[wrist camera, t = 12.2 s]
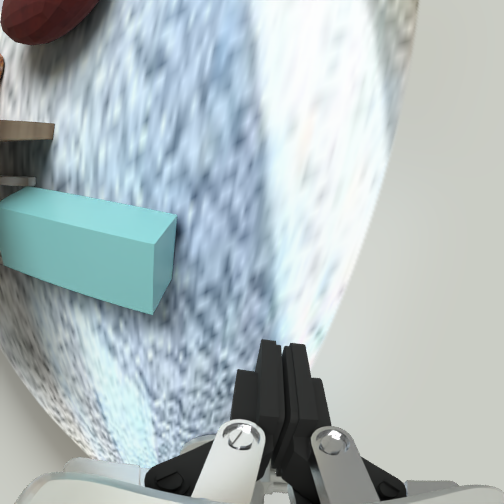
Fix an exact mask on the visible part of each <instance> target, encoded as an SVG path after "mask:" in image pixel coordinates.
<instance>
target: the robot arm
mask: <svg viewBox="0 0 504 504" xmlns="http://www.w3.org/2000/svg"><path fill="white" fill-rule="evenodd" d="M275 472H276V473H275ZM272 492H282V493H288V494H289V499H290V503H291V504H504V492H503V491H502V490H500V489H498V488H496V487H492V486H486V485H464V486H459V485H458V484H457V483H455V482H453V481H411V480H407V481H406V482H405V483H402V482H401V481H400V480H399V479H398V478H396V477H394V476H392V475H391V474H389V473H387V472H386V471H384V470H382V469H380V468H379V467H377V466H375V465H374V464H372V463H371V462H369V461H367V460H366V459H364V458H362V457H361V456H360V454H359V452H358V449H357V447H356V445H355V443H354V440H353V439H352V437H351V435H350V434H349V433H347V432H346V431H345V430H343V429H341V428H338V427H334V426H331V421H330V417H329V412H328V407H327V402H326V397H325V392H324V388H323V383H322V380H321V379H320V378H311V374H310V368H309V363H308V357H307V352H306V347H305V345H304V344H296V343H290V345H289V346H285V347H284V350H283V354H282V353H281V345H276V341H271V340H264V339H262V340H261V344H260V349H259V354H258V359H257V364H256V369H255V372H254V371H246V370H239V369H238V370H237V375H236V382H235V388H234V395H233V401H232V409H231V416H230V421H228V422H225V423H224V424H223V425H221V427H220V428H219V430H218V432H217V434H216V435H206V436H200V437H197V438H194V439H192V440H190V441H188V442H187V443H186V444H185V445H184V446H183V447H182V449H181V452H180V455H179V456H177V457H175V458H172V459H170V460H168V461H165V462H163V463H160V464H158V465H156V466H154V467H152V468H150V469H149V468H140V466H139V465H133V464H124V463H116V462H108V461H102V460H96V459H90V458H82V457H77V458H73V459H71V460H69V461H68V462H67V463H66V464H65V466H64V469H63V472H52V473H46V474H43V475H40V476H39V477H37V478H35V479H34V480H33V481H32V482H31V483H30V484H29V485H28V486H27V487H26V488H25V489H24V490H23V492H22V493H21V495H20V496H19V497H18V499H17V500H16V502H15V503H14V504H264V495H265V494H272Z"/></svg>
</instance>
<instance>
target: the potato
mask: <svg viewBox="0 0 504 504" xmlns="http://www.w3.org/2000/svg"><path fill="white" fill-rule="evenodd" d="M98 1H99V0H4V1H3V6H2V13H1V21H0V23H1V26H2V29H3V31H4V32H5V33H6V34H7V35H8V36H9V37H10V38H11V39H12V40H14V41H15V42H18V43H22V44H27V45H38V44H45V43H49V42H52V41H54V40H56V39H58V38H60V37H62V36H64V35H65V34H66V33H68V32H69V31H71V30H72V29H73V28H75V27H76V26H77V25H78V24H79V23H80V22H81V21H82V20H83V19H84V18H85V17H86V16H87V15H88V14H89V13H90V12H91V11H92V9H93V8H94V7H95V5H96V4H97V3H98Z"/></svg>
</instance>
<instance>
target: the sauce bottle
mask: <svg viewBox="0 0 504 504" xmlns="http://www.w3.org/2000/svg"><path fill="white" fill-rule="evenodd" d="M3 66H4V59H3V57H2V55H1V54H0V78H1V75H2V72H3Z"/></svg>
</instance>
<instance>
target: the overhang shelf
mask: <svg viewBox="0 0 504 504" xmlns="http://www.w3.org/2000/svg"><path fill="white" fill-rule="evenodd" d="M54 125H55V124H51V123H40V122H26V121H9V120H0V142H9V141H24V140H47V139H53V133H54ZM35 184H36V177H22V176H0V185H11V186H34V185H35ZM0 264H3V260H2V256H1V252H0ZM3 265H4V264H3Z"/></svg>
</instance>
